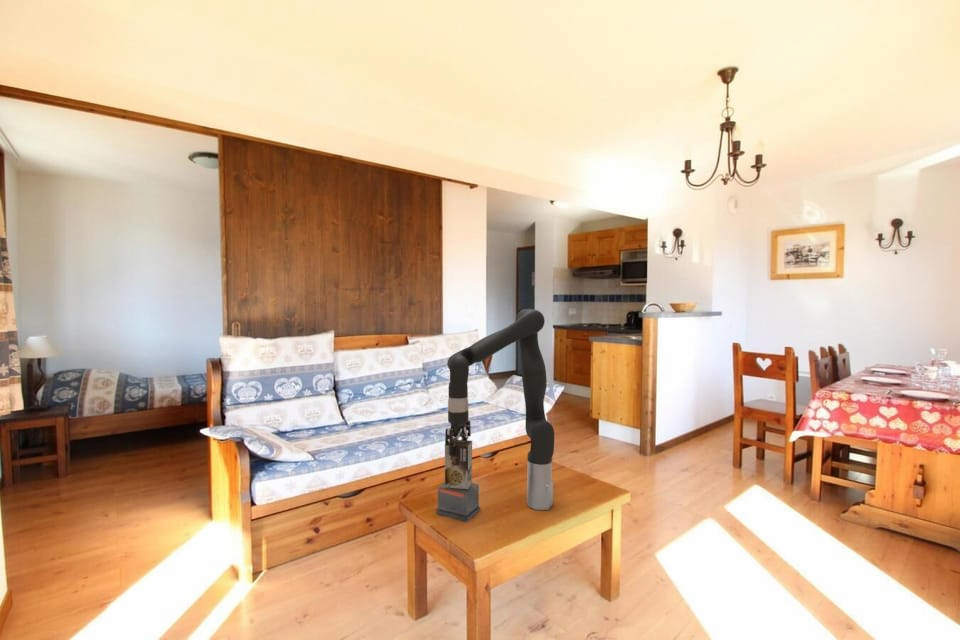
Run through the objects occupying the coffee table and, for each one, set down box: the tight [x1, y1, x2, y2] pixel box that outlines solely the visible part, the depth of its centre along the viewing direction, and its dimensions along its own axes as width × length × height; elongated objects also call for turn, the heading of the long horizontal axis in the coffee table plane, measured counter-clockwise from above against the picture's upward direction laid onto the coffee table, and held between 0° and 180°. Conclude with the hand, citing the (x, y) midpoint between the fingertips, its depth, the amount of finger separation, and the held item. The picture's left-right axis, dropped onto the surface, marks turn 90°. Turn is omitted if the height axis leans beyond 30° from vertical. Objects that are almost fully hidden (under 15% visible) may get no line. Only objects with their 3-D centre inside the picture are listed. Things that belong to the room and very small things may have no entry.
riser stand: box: [435, 482, 481, 523], centre depth 166 cm, size 13×10×10 cm
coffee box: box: [444, 439, 473, 489], centre depth 165 cm, size 9×6×16 cm
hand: (458, 452), depth 165 cm, fingers open, 8 cm apart
